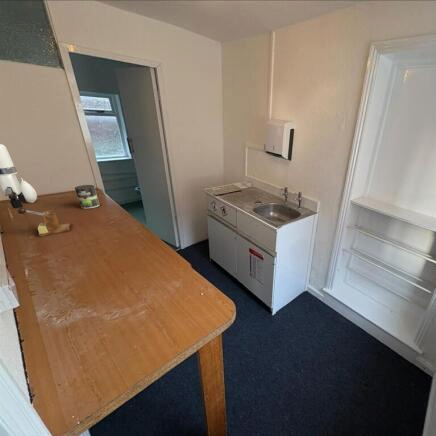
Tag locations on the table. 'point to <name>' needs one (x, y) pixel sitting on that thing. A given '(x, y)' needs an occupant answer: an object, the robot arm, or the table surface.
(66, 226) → the wooden toy catapult
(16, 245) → the table surface
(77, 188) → the coffee can
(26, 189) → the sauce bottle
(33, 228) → the table surface
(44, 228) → the butter
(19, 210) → the ball knob on post
